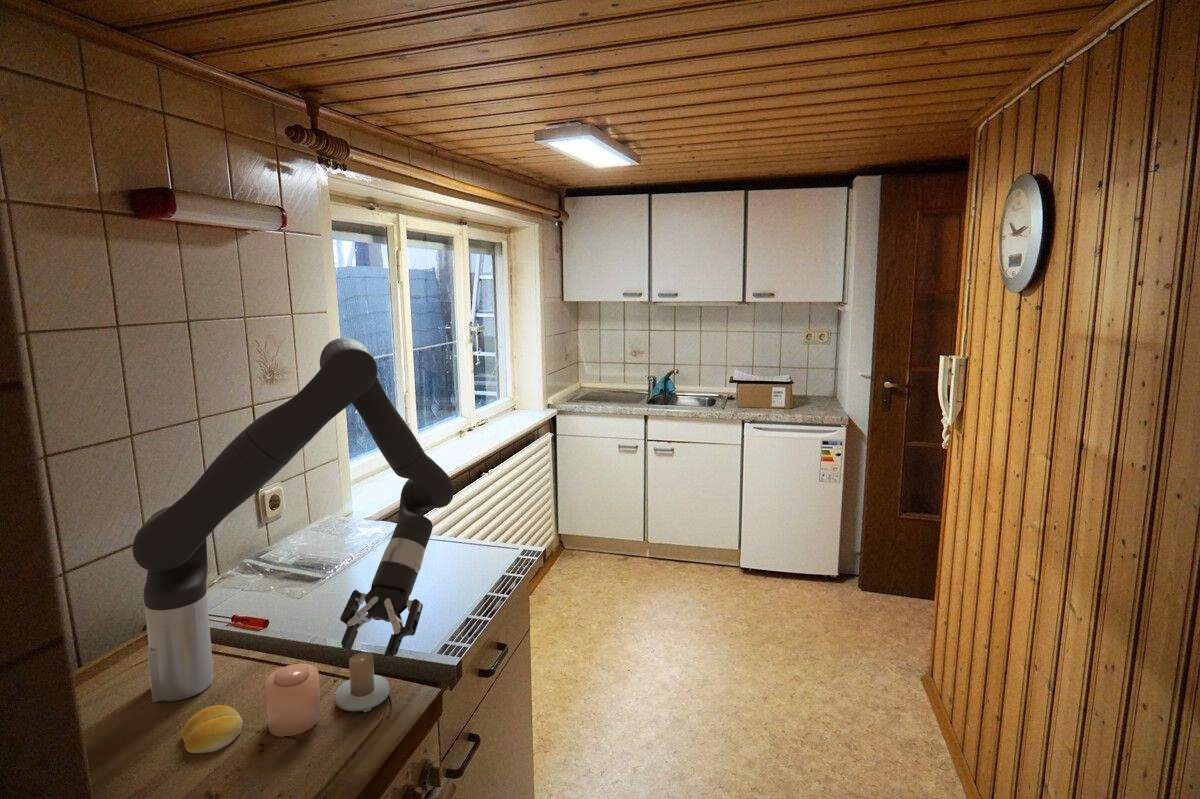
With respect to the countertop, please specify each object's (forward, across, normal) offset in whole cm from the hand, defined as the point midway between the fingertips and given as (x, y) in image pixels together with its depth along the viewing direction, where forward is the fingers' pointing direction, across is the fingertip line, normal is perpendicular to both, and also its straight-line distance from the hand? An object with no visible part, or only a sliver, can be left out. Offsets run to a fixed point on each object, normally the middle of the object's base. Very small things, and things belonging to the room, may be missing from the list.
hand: (366, 653), depth 113 cm
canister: (+12, -8, -1) cm, 15 cm away
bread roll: (+17, -18, -5) cm, 26 cm away
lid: (+7, 0, +4) cm, 8 cm away
